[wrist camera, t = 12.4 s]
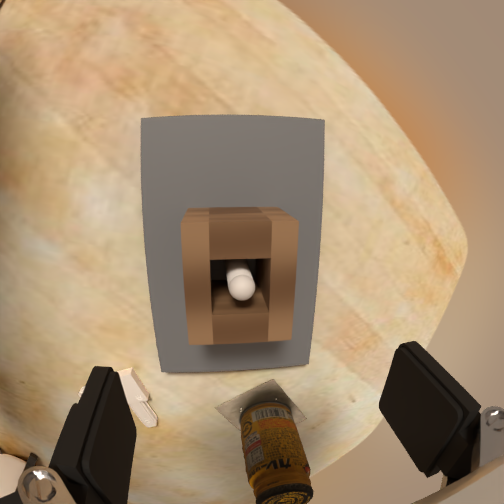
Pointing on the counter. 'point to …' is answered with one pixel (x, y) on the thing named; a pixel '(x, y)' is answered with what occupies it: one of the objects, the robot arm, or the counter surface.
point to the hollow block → (216, 291)
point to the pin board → (229, 195)
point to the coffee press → (12, 471)
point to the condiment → (271, 444)
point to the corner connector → (136, 396)
